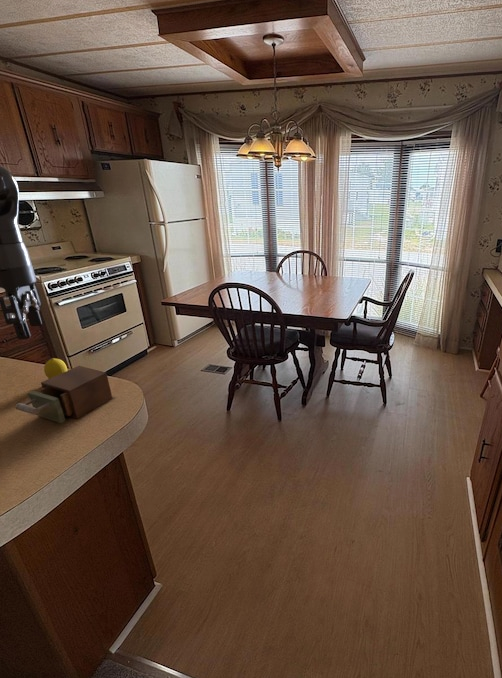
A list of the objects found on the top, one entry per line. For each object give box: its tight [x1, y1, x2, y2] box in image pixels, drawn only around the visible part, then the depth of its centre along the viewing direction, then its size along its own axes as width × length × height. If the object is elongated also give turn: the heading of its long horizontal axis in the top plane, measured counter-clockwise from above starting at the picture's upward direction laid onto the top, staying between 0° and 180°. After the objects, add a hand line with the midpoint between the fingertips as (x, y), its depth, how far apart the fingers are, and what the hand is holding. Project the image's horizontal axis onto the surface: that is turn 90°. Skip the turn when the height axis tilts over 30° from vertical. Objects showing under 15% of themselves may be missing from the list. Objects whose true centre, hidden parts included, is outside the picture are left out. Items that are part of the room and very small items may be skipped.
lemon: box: [43, 357, 68, 379], centre depth 106 cm, size 6×6×8 cm
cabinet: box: [40, 365, 113, 419], centre depth 95 cm, size 11×11×9 cm
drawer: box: [15, 387, 74, 424], centre depth 89 cm, size 14×9×7 cm
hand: (31, 331), depth 81 cm, fingers open, 8 cm apart
